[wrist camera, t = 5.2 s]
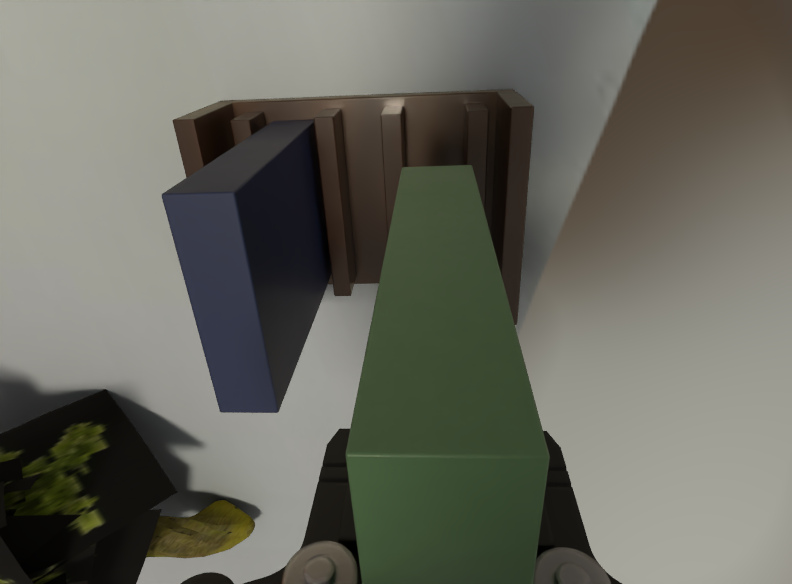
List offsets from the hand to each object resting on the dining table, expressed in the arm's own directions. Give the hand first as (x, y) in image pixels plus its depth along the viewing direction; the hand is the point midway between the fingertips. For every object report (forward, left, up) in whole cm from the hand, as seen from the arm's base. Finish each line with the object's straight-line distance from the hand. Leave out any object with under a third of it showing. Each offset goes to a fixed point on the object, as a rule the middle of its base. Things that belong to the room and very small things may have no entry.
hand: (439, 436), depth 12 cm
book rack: (+4, 0, -20) cm, 20 cm away
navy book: (+8, 0, -19) cm, 20 cm away
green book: (0, 0, -8) cm, 8 cm away
